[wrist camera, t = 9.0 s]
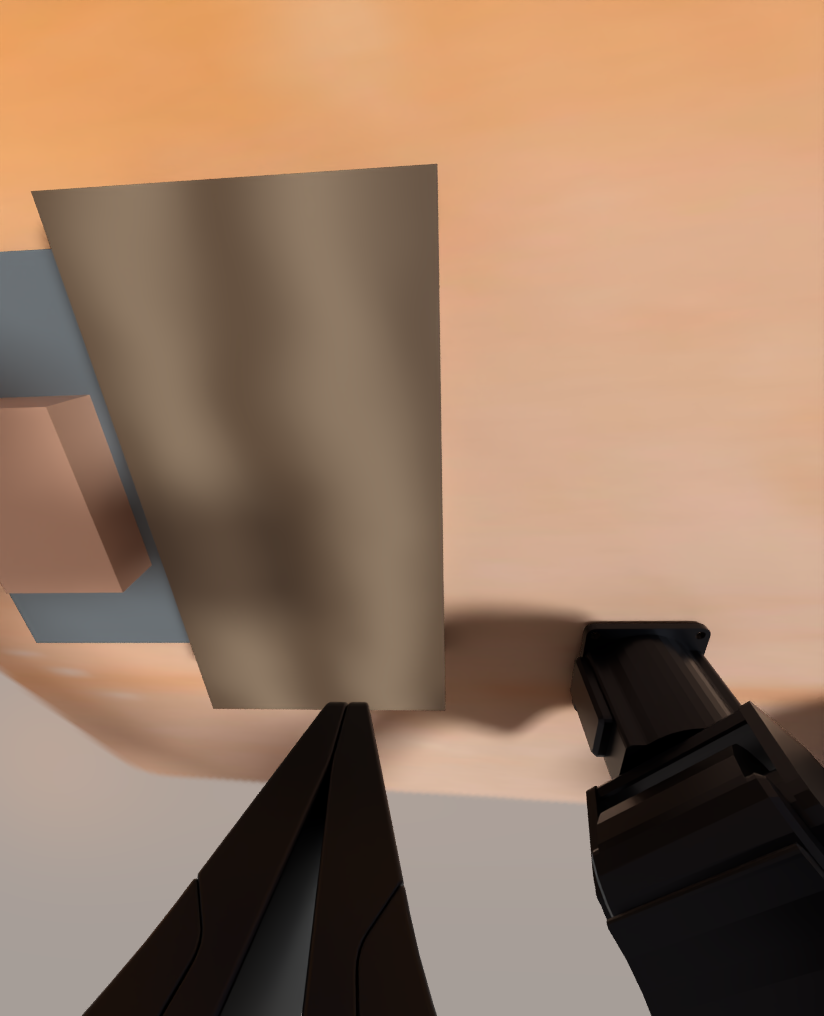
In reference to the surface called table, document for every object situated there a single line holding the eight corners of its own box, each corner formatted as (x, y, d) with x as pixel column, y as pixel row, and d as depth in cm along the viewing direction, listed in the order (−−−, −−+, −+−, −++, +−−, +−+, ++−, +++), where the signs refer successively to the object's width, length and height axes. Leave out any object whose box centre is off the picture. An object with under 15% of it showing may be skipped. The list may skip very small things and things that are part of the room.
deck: (436, 194, 16) (437, 163, 12) (443, 651, 25) (445, 710, 22) (119, 214, 16) (31, 191, 13) (243, 651, 26) (213, 708, 22)
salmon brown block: (-96, 411, 17) (-37, 399, 19) (6, 593, 21) (45, 566, 23) (45, 407, 17) (89, 394, 19) (122, 592, 21) (152, 565, 23)
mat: (116, 246, 17) (111, 245, 17) (232, 639, 26) (229, 642, 25) (-166, 262, 18) (-176, 262, 17) (40, 639, 26) (36, 642, 26)
